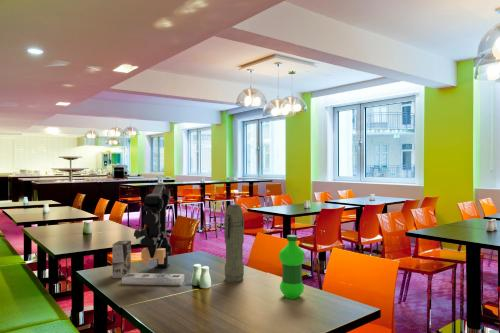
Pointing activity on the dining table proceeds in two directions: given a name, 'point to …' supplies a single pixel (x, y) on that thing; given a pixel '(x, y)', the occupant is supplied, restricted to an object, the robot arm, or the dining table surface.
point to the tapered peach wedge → (159, 255)
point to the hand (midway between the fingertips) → (153, 256)
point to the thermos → (234, 243)
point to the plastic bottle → (292, 268)
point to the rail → (153, 279)
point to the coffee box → (121, 259)
